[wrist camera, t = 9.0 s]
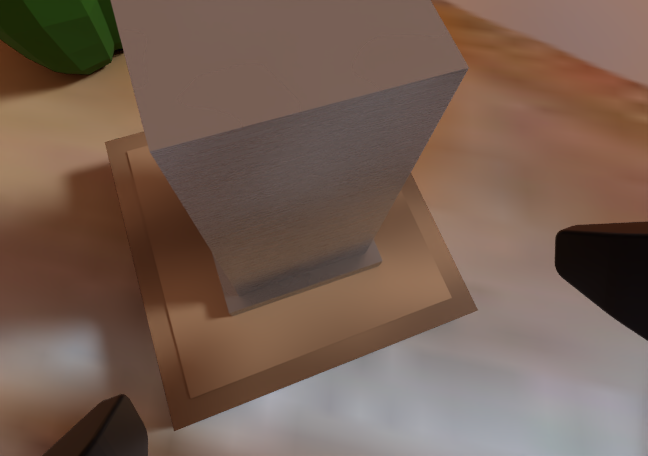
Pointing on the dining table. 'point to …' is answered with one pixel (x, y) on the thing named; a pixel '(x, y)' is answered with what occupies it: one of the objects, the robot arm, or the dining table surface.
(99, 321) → the dining table surface
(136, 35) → the plate
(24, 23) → the bell pepper
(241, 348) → the stand
